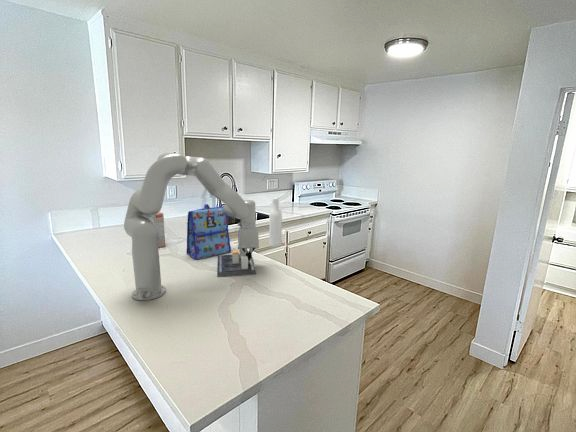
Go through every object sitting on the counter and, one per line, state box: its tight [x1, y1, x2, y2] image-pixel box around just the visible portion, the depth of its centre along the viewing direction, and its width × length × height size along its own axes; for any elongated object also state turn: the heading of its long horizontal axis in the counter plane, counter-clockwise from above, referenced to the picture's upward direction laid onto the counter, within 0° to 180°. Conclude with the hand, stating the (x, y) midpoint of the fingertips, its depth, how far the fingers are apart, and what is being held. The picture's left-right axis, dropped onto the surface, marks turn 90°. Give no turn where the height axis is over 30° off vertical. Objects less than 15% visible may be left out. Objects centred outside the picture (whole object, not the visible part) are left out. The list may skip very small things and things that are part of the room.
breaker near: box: [241, 256, 248, 269], centre depth 147 cm, size 4×3×5 cm
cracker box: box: [150, 211, 166, 249], centre depth 186 cm, size 14×6×21 cm, turn 41°
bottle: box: [268, 196, 283, 248], centre depth 186 cm, size 8×8×30 cm
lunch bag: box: [185, 203, 232, 261], centre depth 171 cm, size 22×14×29 cm, turn 129°
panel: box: [216, 254, 257, 278], centre depth 154 cm, size 24×18×2 cm
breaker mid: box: [231, 249, 239, 264], centre depth 153 cm, size 4×3×6 cm
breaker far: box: [238, 249, 246, 258], centre depth 162 cm, size 4×3×5 cm
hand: (248, 259), depth 155 cm, fingers closed
